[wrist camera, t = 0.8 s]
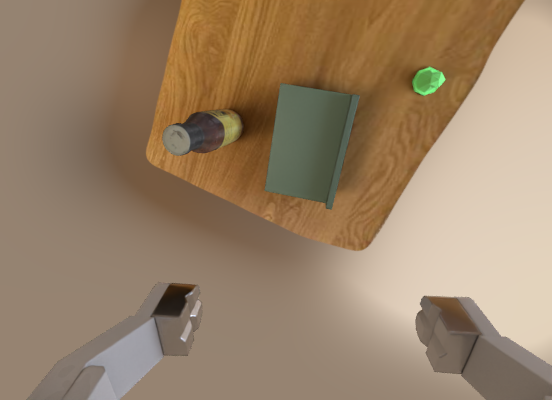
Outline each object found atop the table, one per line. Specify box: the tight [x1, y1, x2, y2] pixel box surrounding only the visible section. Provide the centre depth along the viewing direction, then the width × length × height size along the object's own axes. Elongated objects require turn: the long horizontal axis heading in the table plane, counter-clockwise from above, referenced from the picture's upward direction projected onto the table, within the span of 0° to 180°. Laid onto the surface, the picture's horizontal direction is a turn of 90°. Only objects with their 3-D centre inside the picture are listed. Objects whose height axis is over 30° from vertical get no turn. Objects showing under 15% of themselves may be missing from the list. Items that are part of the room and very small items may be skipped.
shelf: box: [265, 83, 359, 209], centre depth 48 cm, size 18×12×10 cm, turn 171°
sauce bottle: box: [162, 109, 243, 156], centre depth 45 cm, size 6×6×20 cm
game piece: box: [412, 67, 445, 95], centre depth 44 cm, size 4×4×6 cm
